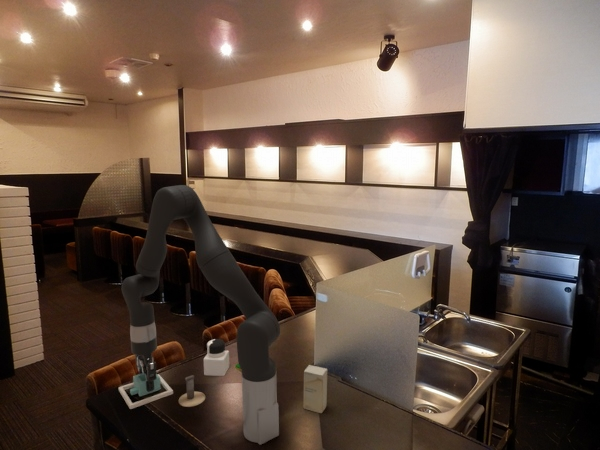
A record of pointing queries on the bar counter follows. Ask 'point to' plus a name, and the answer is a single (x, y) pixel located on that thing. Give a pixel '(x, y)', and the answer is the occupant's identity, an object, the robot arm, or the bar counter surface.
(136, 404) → the tray
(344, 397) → the bar counter surface
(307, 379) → the skincare box
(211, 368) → the medicine bottle
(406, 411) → the bar counter surface
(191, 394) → the peg stand
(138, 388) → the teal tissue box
